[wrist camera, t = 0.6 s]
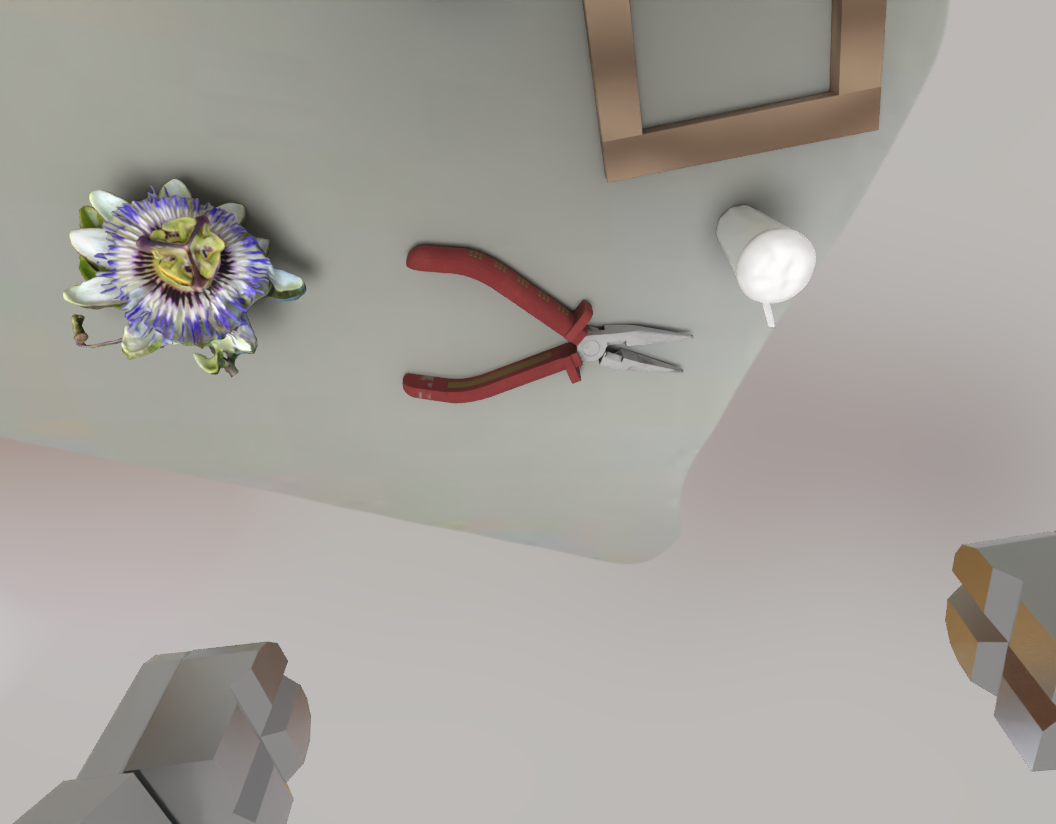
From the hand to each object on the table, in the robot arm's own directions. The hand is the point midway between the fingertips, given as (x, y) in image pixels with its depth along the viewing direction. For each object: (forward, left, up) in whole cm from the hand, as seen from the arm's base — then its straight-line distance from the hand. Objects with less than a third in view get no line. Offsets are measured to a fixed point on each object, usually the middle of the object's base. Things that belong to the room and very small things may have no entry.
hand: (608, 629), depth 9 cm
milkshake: (+10, +12, -42) cm, 45 cm away
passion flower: (+5, -25, -42) cm, 49 cm away
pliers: (+16, -4, -43) cm, 46 cm away
